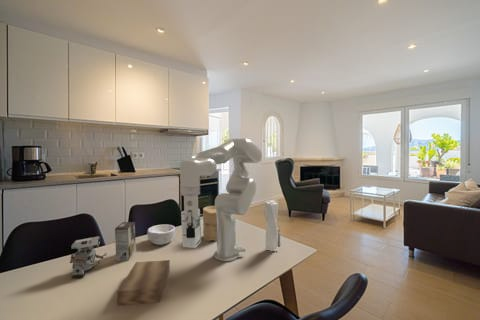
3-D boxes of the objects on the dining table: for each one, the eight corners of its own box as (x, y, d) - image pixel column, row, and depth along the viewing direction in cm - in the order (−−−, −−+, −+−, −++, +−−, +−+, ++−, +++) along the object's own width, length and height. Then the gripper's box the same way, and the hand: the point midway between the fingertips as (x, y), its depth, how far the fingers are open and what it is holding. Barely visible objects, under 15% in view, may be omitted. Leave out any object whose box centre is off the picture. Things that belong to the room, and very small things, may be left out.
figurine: (98, 276, 94) (97, 242, 93) (67, 279, 92) (66, 243, 92) (107, 265, 103) (106, 233, 102) (80, 267, 101) (78, 235, 101)
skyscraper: (278, 254, 115) (278, 200, 114) (263, 251, 118) (263, 199, 116) (280, 247, 123) (281, 197, 122) (266, 245, 126) (266, 196, 124)
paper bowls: (180, 240, 132) (180, 226, 132) (159, 249, 119) (159, 235, 119) (163, 234, 140) (163, 222, 140) (142, 243, 128) (141, 229, 127)
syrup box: (195, 248, 87) (195, 211, 86) (181, 247, 89) (180, 211, 88) (201, 242, 93) (200, 207, 92) (187, 241, 94) (187, 207, 93)
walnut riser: (169, 271, 99) (169, 260, 98) (159, 301, 79) (159, 288, 79) (136, 273, 97) (136, 262, 96) (117, 305, 77) (117, 291, 77)
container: (225, 240, 132) (225, 210, 131) (204, 242, 128) (204, 212, 127) (221, 232, 144) (221, 205, 143) (201, 234, 140) (201, 206, 139)
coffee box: (123, 252, 116) (122, 221, 116) (136, 251, 117) (135, 221, 116) (115, 261, 107) (114, 228, 106) (129, 260, 108) (128, 227, 107)
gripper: (199, 194, 81) (200, 242, 82) (200, 186, 98) (201, 225, 100) (177, 195, 80) (179, 243, 81) (183, 186, 97) (184, 226, 99)
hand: (191, 233), depth 90 cm, fingers closed on syrup box, 7 cm apart
